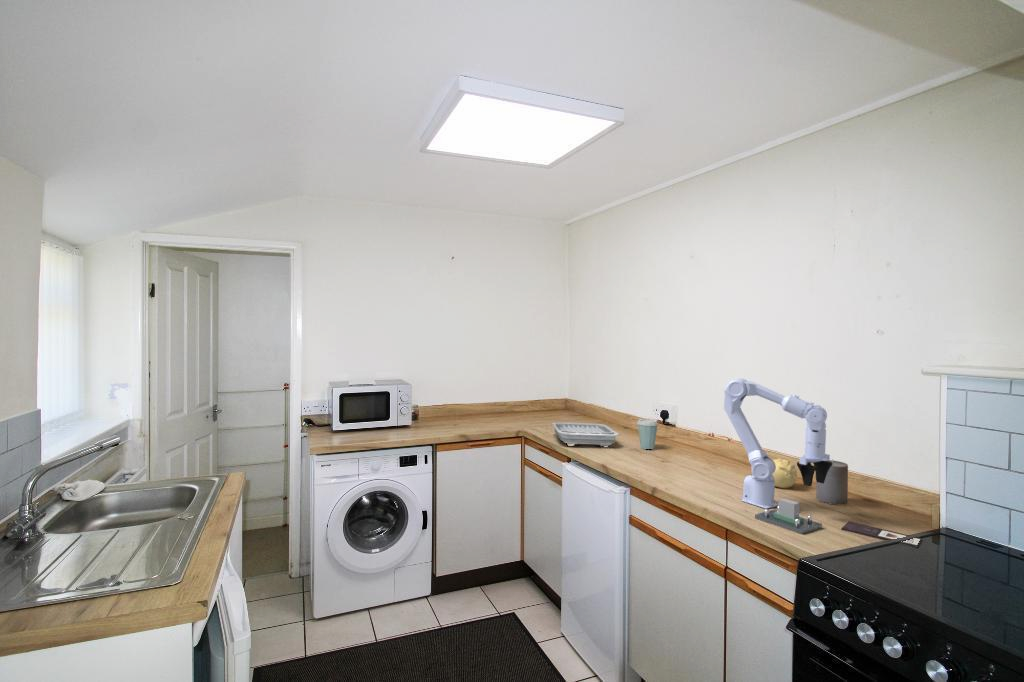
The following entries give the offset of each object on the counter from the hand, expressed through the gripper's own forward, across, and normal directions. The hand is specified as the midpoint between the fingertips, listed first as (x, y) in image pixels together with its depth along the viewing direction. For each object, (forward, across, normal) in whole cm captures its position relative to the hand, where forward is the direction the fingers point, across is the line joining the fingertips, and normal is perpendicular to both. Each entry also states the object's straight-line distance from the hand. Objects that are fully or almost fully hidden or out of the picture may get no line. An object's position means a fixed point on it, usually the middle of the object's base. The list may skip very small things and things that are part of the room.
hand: (813, 484), depth 172 cm
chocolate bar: (+11, 0, -20) cm, 22 cm away
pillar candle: (+10, +21, +5) cm, 24 cm away
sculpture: (+10, +22, +25) cm, 35 cm away
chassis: (+10, -16, -1) cm, 19 cm away
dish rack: (+10, +4, +124) cm, 124 cm away
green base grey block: (+9, -16, -1) cm, 18 cm away
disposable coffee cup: (+10, +23, +96) cm, 99 cm away
